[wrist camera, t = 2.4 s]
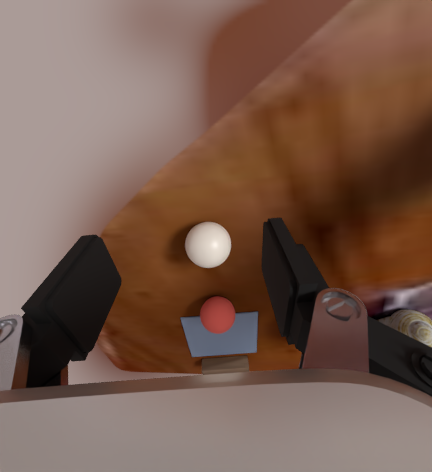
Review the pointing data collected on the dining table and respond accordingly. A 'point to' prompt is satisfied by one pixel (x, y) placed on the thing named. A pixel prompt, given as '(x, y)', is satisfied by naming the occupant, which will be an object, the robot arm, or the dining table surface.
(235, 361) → the stopper wall
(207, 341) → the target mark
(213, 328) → the red ball
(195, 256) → the cue ball
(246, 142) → the dining table surface
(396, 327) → the seashell
